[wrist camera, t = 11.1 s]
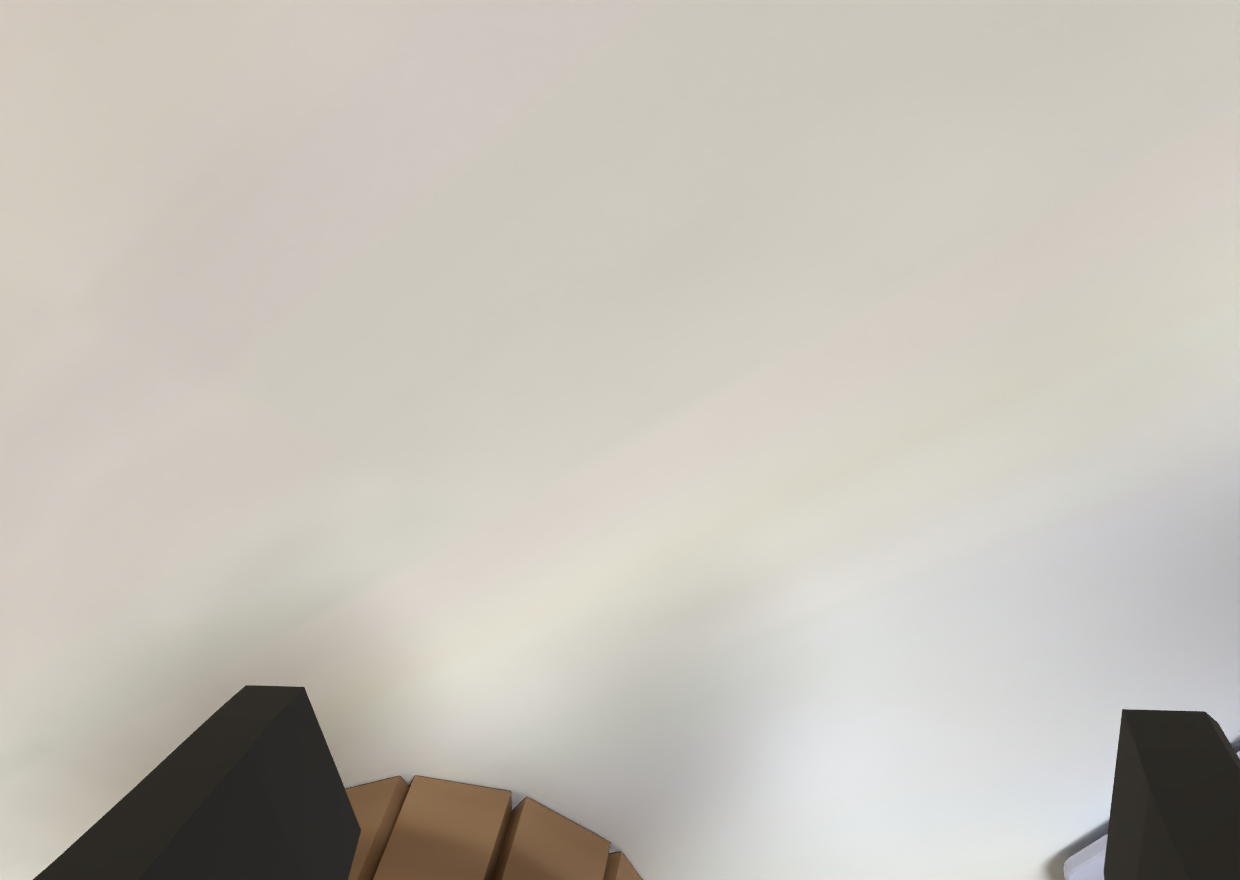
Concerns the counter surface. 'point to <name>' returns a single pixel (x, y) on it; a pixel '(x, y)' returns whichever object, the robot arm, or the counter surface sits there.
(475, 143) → the counter surface
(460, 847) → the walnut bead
